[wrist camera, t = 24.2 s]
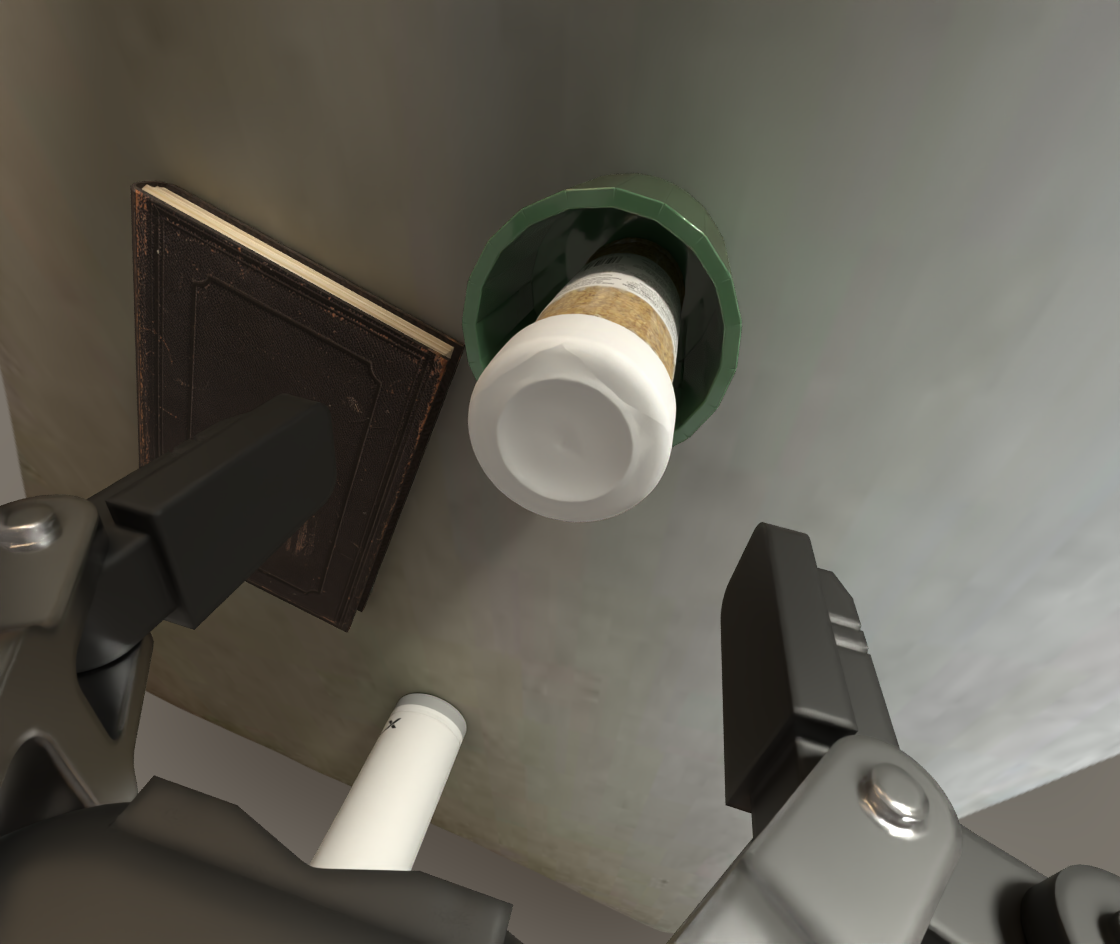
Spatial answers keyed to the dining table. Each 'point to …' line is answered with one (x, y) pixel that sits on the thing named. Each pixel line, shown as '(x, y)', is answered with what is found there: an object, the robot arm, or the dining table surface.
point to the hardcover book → (284, 378)
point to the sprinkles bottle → (586, 390)
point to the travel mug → (396, 789)
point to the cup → (567, 244)
